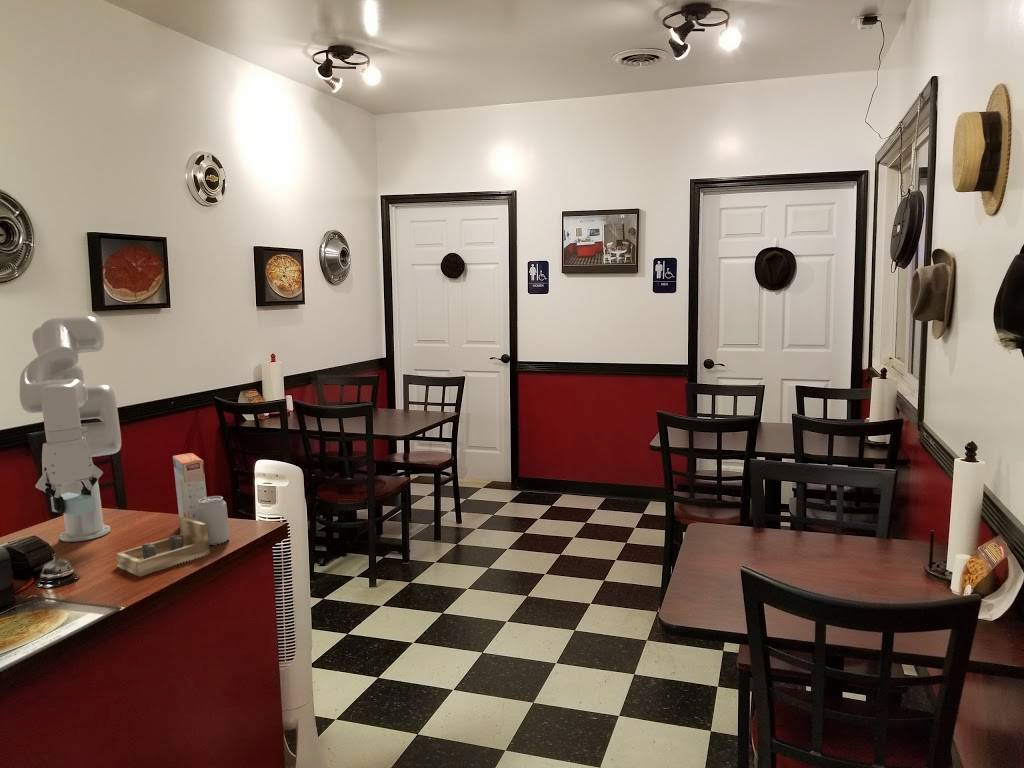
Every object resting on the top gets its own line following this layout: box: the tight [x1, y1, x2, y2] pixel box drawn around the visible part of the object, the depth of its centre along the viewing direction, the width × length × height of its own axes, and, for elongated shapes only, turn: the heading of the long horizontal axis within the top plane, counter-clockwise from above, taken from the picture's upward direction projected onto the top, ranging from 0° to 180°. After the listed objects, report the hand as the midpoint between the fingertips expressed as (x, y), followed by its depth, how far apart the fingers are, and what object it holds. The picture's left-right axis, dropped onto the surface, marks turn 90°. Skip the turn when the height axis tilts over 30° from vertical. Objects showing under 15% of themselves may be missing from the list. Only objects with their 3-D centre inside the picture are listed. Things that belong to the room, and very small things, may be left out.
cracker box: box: [172, 452, 208, 521], centre depth 223 cm, size 14×6×21 cm, turn 33°
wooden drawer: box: [115, 517, 211, 578], centre depth 199 cm, size 12×18×8 cm, turn 140°
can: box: [196, 495, 231, 546], centre depth 211 cm, size 8×8×12 cm
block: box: [50, 492, 96, 516], centre depth 191 cm, size 10×4×4 cm, turn 63°
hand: (74, 508), depth 191 cm, fingers closed on block, 5 cm apart
